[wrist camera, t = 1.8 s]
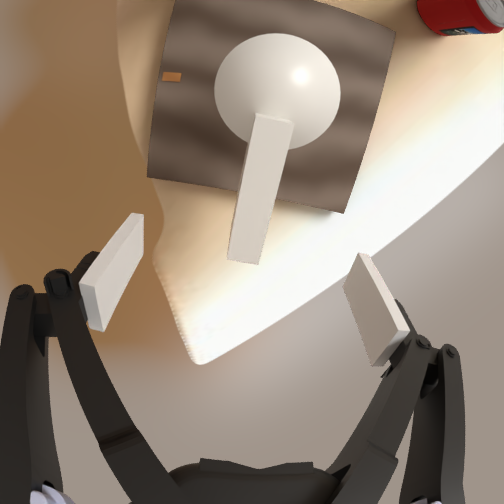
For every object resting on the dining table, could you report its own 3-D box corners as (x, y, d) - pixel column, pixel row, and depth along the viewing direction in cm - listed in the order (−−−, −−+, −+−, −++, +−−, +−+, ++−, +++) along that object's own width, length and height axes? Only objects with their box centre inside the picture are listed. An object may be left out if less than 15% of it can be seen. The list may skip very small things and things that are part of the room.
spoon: (231, 32, 18) (225, 15, 13) (338, 57, 19) (364, 50, 14) (198, 218, 27) (185, 252, 22) (289, 234, 28) (297, 271, 23)
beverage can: (443, 46, 22) (505, 45, 12) (406, 11, 20) (463, -6, 10) (459, 18, 19) (518, 13, 9) (423, -16, 17) (478, -35, 7)
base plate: (185, -13, 20) (180, -19, 18) (388, 34, 23) (396, 31, 21) (152, 172, 33) (146, 177, 31) (339, 207, 35) (343, 214, 33)
